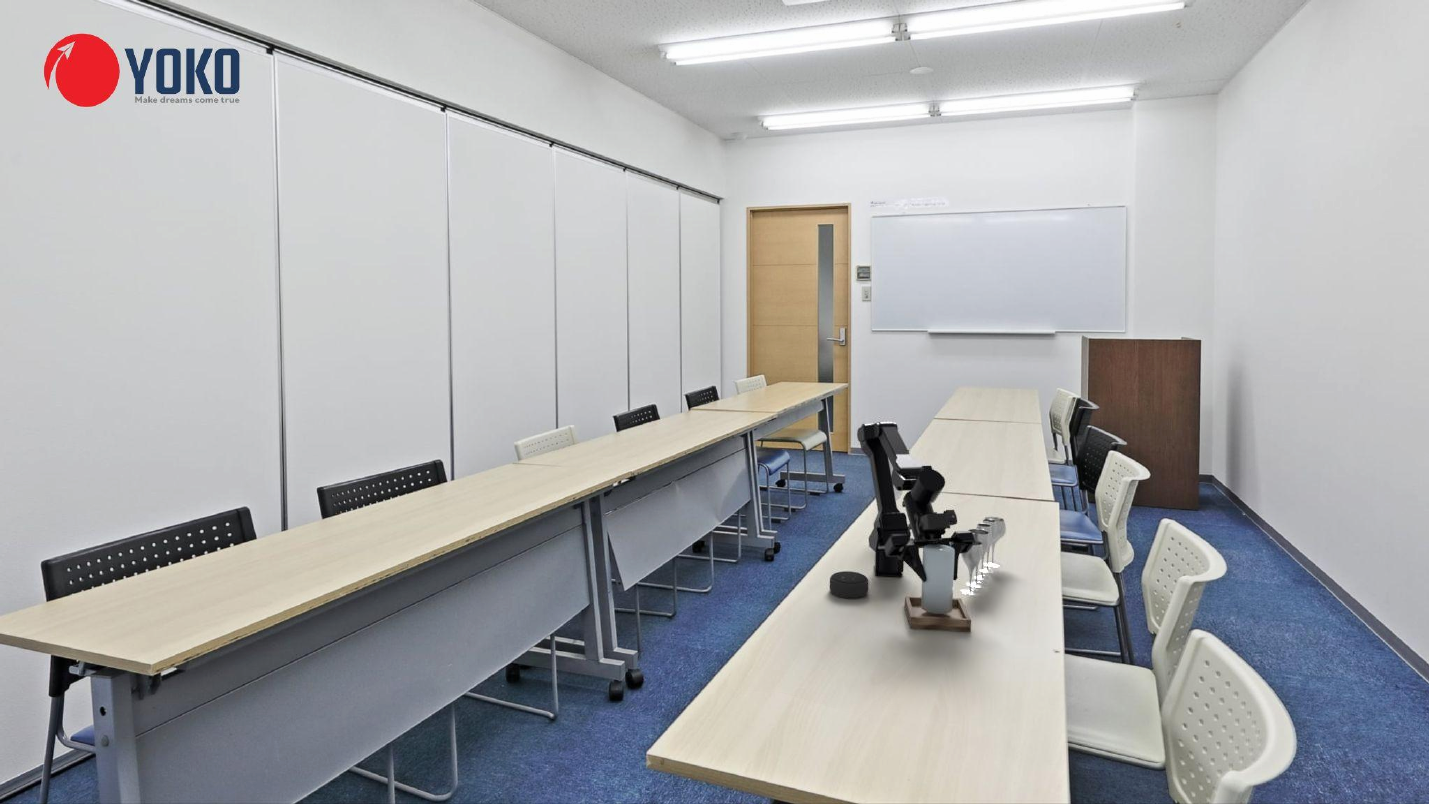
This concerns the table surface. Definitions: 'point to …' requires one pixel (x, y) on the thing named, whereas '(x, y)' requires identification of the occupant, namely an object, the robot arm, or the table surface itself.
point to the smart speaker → (849, 584)
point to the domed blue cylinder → (938, 578)
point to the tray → (937, 616)
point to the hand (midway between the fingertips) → (940, 580)
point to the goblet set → (983, 551)
